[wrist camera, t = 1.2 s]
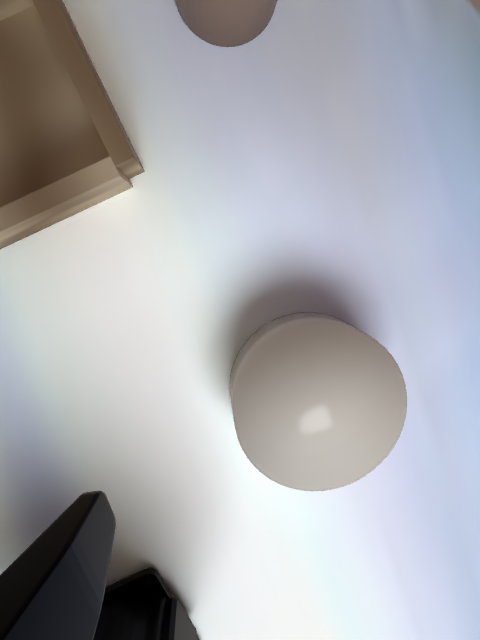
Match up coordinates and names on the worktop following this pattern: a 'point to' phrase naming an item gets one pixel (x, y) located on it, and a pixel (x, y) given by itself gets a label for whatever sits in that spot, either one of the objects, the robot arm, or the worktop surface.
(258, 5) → the brown dome-top cylinder
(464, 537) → the worktop surface
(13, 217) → the tray
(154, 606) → the robot arm
